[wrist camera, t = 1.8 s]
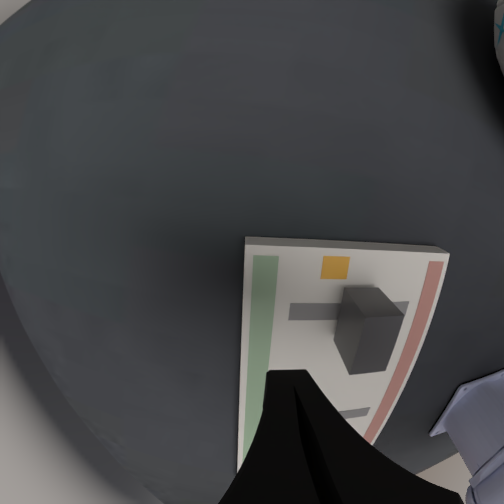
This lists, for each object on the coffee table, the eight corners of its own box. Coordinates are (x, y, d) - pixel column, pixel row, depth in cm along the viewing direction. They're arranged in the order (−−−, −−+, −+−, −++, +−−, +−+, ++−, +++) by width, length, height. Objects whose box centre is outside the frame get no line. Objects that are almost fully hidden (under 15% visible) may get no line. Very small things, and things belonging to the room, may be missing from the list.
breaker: (378, 287, 14) (404, 315, 11) (365, 338, 15) (385, 370, 12) (344, 287, 14) (365, 317, 11) (333, 339, 15) (349, 375, 12)
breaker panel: (436, 246, 15) (450, 254, 14) (348, 467, 23) (351, 477, 22) (245, 236, 15) (245, 244, 13) (237, 475, 23) (237, 487, 21)
